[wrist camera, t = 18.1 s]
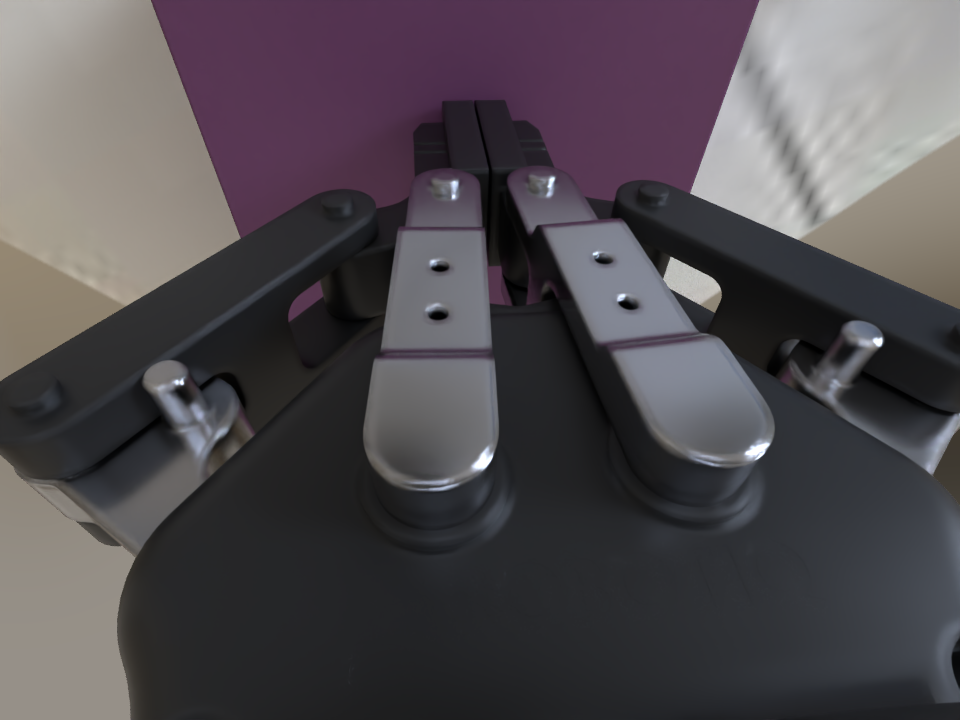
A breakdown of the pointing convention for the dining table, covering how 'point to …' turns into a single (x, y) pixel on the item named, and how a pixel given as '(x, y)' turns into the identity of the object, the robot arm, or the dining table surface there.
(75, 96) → the dining table surface
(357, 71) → the lid
